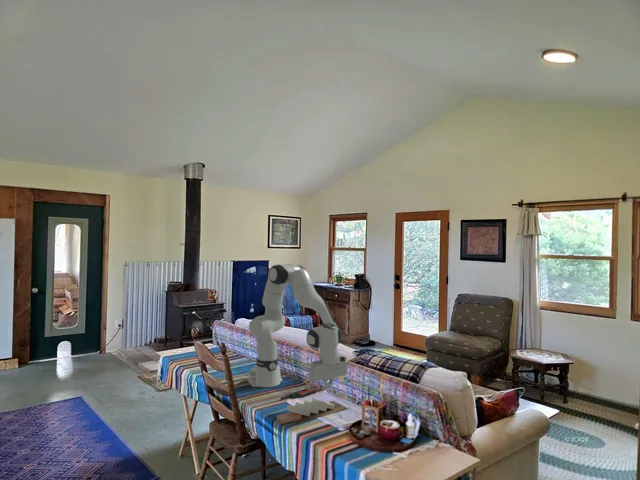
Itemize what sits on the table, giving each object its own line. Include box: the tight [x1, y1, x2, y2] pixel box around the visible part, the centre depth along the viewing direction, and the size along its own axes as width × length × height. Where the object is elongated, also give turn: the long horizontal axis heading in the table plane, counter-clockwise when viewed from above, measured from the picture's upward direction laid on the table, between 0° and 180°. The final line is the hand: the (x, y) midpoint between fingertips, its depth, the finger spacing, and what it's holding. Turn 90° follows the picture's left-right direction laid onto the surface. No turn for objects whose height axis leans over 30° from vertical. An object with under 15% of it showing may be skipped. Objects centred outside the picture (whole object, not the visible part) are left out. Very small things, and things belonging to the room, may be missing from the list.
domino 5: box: [311, 397, 335, 409], centre depth 200 cm, size 2×5×10 cm
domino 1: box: [276, 411, 302, 424], centre depth 190 cm, size 2×5×10 cm
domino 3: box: [294, 402, 319, 414], centre depth 195 cm, size 2×5×10 cm
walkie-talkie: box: [279, 386, 317, 400], centre depth 220 cm, size 9×4×20 cm
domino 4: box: [303, 400, 327, 412], centre depth 198 cm, size 2×5×10 cm
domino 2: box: [286, 404, 311, 416], centre depth 192 cm, size 2×5×10 cm
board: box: [293, 400, 349, 425], centre depth 198 cm, size 12×28×1 cm, turn 125°
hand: (328, 387), depth 202 cm, fingers closed
